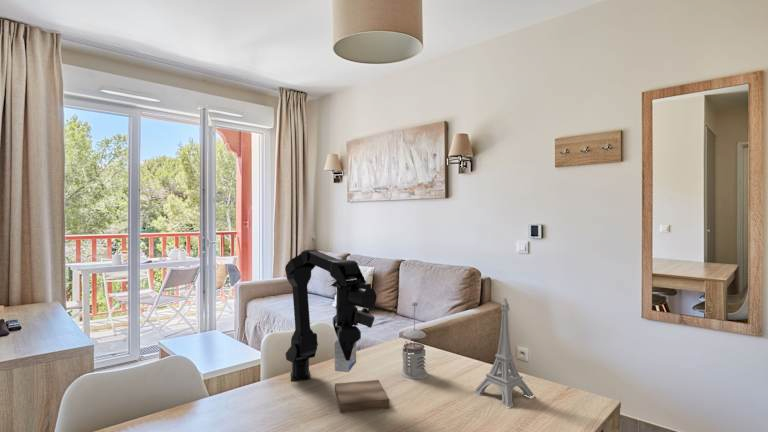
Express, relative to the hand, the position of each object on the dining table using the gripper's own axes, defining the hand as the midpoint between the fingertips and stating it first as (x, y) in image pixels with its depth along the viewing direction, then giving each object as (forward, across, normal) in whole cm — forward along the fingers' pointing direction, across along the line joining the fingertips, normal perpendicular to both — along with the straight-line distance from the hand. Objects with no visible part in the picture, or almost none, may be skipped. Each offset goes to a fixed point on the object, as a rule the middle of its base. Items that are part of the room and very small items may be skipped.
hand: (345, 355), depth 123 cm
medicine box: (+4, 0, 0) cm, 4 cm away
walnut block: (+13, -1, -4) cm, 14 cm away
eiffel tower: (+14, -6, -48) cm, 51 cm away
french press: (+13, +14, -25) cm, 32 cm away
